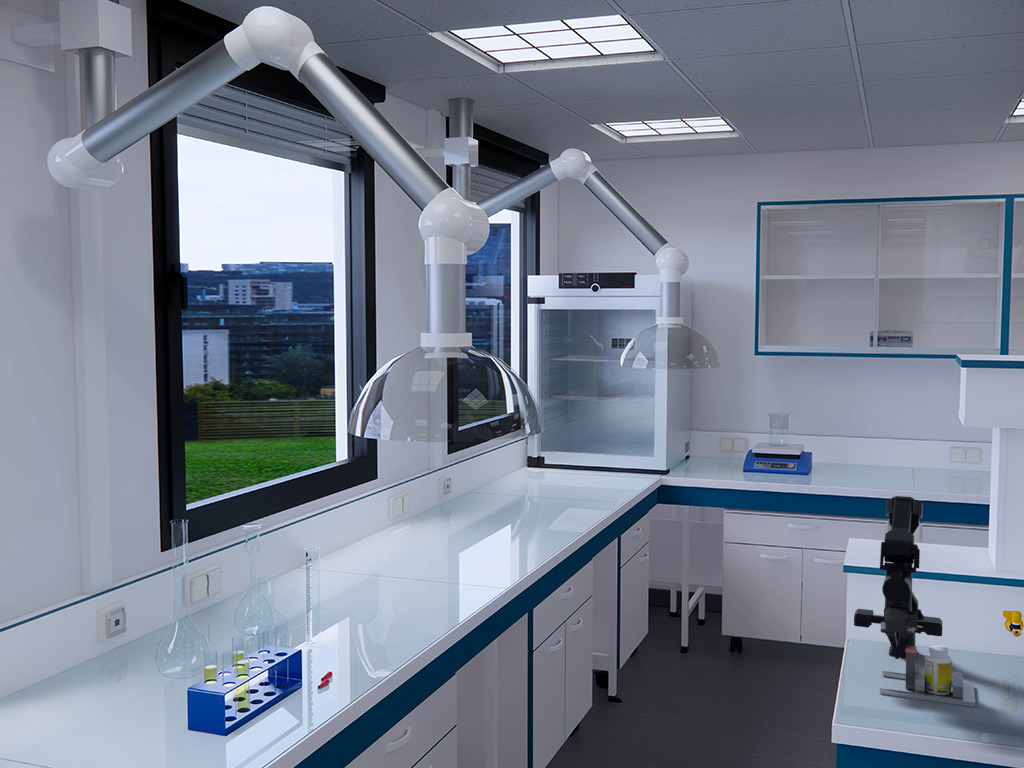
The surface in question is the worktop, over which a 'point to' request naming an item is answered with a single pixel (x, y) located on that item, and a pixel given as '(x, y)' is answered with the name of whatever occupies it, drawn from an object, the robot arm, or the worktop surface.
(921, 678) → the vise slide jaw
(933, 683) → the supplement bottle
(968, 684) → the frame
